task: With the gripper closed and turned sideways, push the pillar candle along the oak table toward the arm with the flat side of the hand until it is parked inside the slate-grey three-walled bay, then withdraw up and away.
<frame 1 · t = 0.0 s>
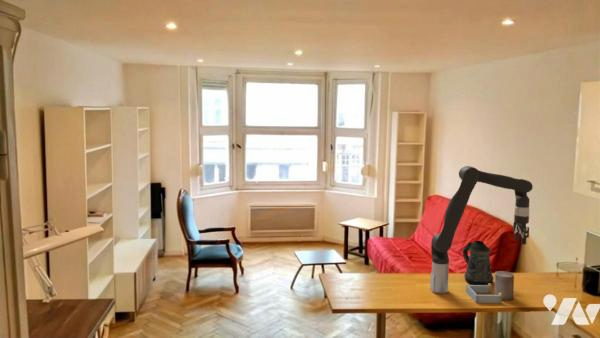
hand: (520, 242, 253), 29 cm above the table, fingers open, 8 cm apart
bay: (483, 297, 248), on the table
beer stein: (476, 281, 273), on the table
pillar candle: (503, 297, 248), on the table
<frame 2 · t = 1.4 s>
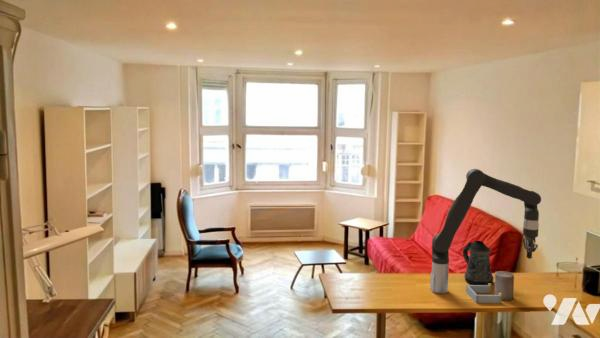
hand: (529, 258, 245), 23 cm above the table, fingers closed
nothing on the table moved.
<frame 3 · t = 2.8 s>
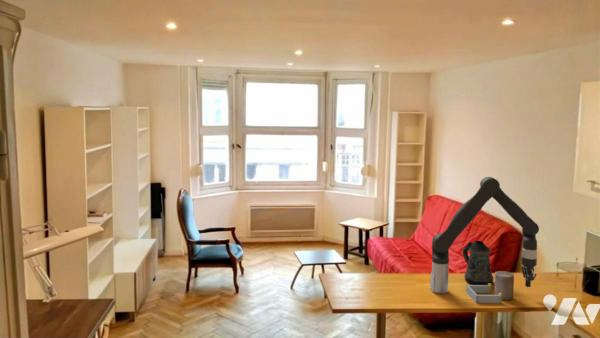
hand: (527, 286, 246), 6 cm above the table, fingers closed
nothing on the table moved.
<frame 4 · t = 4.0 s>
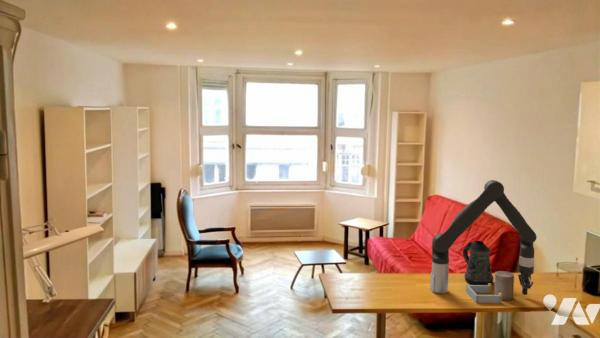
hand: (524, 294, 247), 2 cm above the table, fingers closed
nothing on the table moved.
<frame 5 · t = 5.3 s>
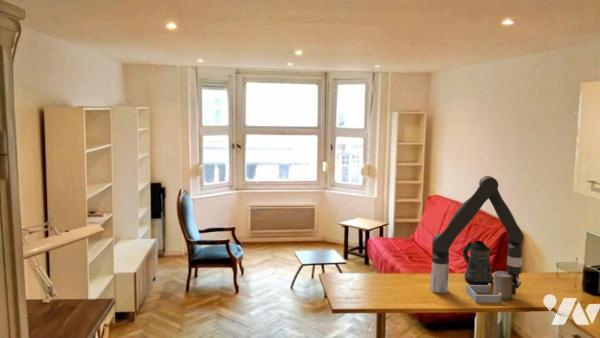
hand: (513, 294, 247), 2 cm above the table, fingers closed
pillar candle: (502, 297, 248), on the table, touching gripper
everything else where it was.
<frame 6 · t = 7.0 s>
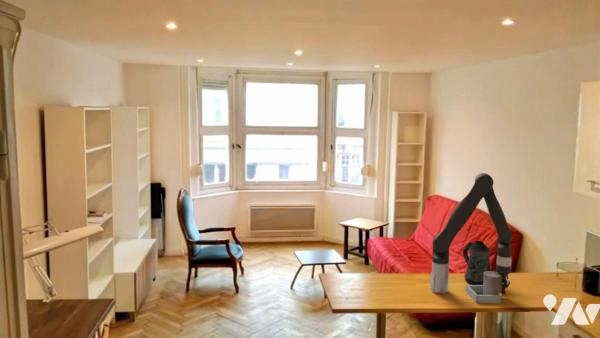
hand: (502, 293, 247), 2 cm above the table, fingers closed
pillar candle: (491, 297, 248), on the table, touching gripper
everything else where it was.
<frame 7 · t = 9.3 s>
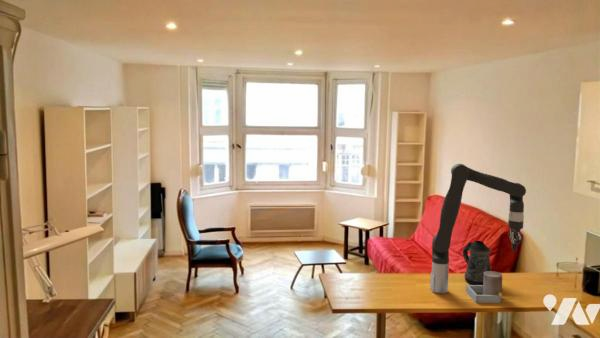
hand: (514, 250, 245), 27 cm above the table, fingers closed
pillar candle: (491, 297, 248), on the table
everything else where it was.
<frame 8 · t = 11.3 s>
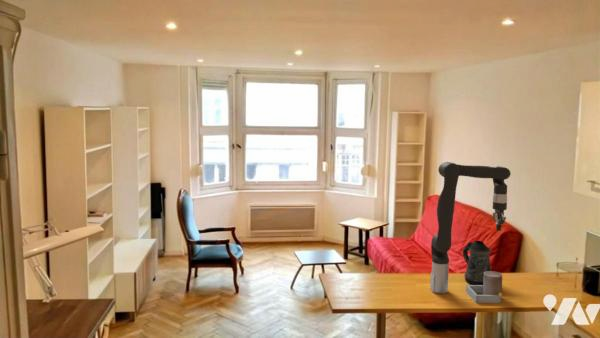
hand: (498, 230, 257), 35 cm above the table, fingers closed
nothing on the table moved.
at the end: pillar candle inside the target area on the bay (4.0 cm from its centre), point 0.0 cm above the bay's base; pillar candle tilted 0°; pillar candle moved 6.5 cm from its start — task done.
